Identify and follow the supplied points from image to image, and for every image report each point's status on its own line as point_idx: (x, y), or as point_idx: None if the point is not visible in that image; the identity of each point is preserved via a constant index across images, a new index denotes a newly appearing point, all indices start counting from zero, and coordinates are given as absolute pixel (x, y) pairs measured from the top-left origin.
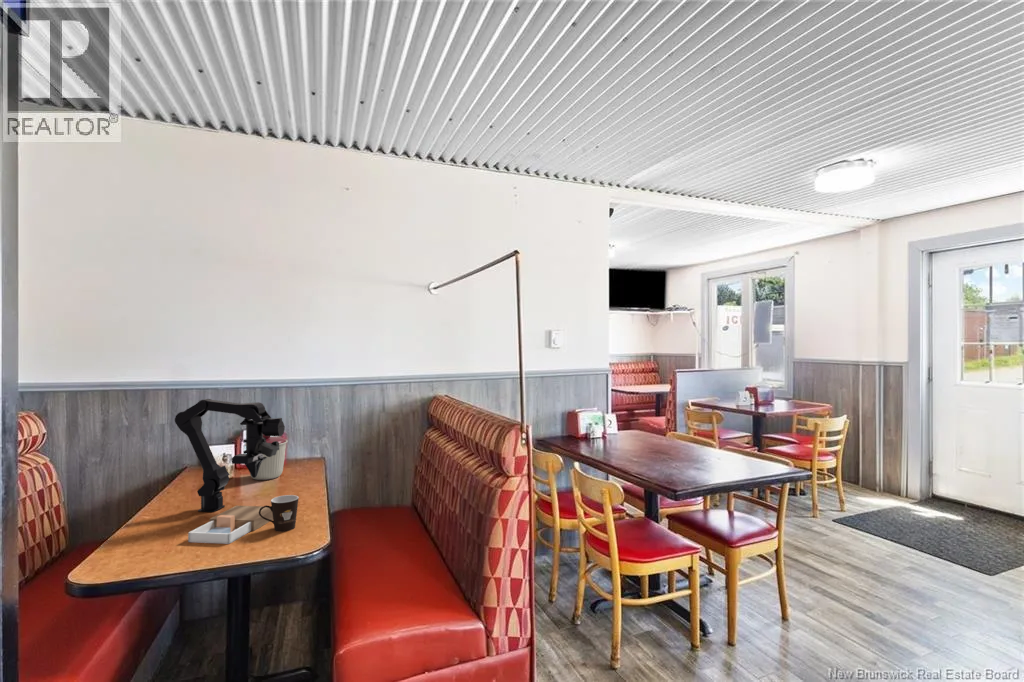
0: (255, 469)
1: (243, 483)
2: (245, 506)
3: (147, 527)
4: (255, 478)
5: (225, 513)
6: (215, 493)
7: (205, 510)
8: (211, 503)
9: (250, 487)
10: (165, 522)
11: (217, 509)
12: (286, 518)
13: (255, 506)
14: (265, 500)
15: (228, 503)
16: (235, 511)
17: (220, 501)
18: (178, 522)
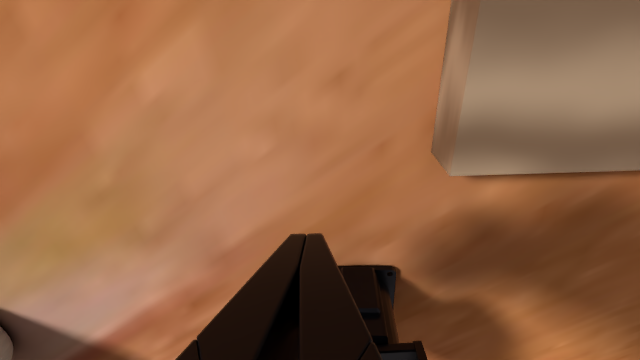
0: (367, 343)
1: (67, 349)
2: (477, 103)
3: (551, 351)
4: (9, 344)
5: (628, 139)
6: (377, 344)
7: (392, 297)
8: (388, 307)
9: (83, 311)
10: (504, 336)
11: (371, 268)
12: None
13: (485, 18)
14: (184, 155)
15: None
16: (595, 99)
17: (361, 290)
18: (512, 305)
